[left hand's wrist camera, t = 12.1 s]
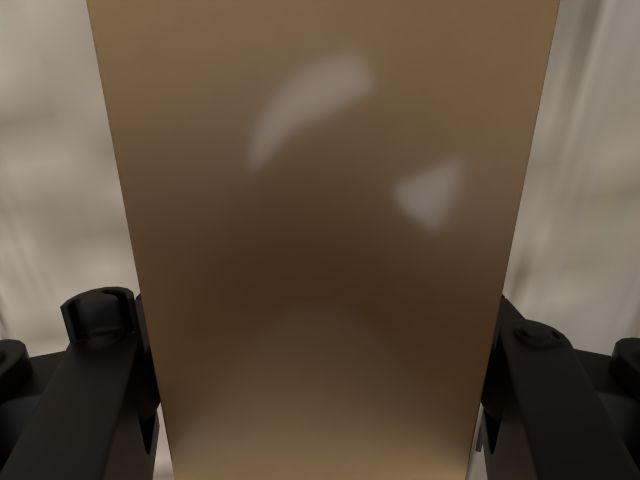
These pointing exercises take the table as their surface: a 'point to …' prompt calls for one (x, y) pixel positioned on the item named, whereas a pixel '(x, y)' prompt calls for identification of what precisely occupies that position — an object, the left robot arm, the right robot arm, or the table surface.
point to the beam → (321, 220)
